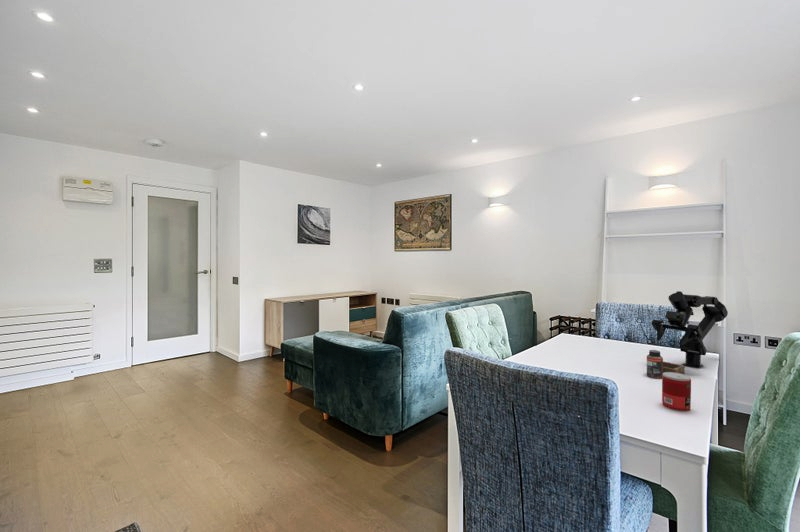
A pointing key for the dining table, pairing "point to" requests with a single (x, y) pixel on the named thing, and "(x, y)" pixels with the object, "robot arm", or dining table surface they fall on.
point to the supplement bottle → (654, 364)
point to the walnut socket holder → (673, 368)
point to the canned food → (676, 391)
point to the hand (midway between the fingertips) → (669, 342)
